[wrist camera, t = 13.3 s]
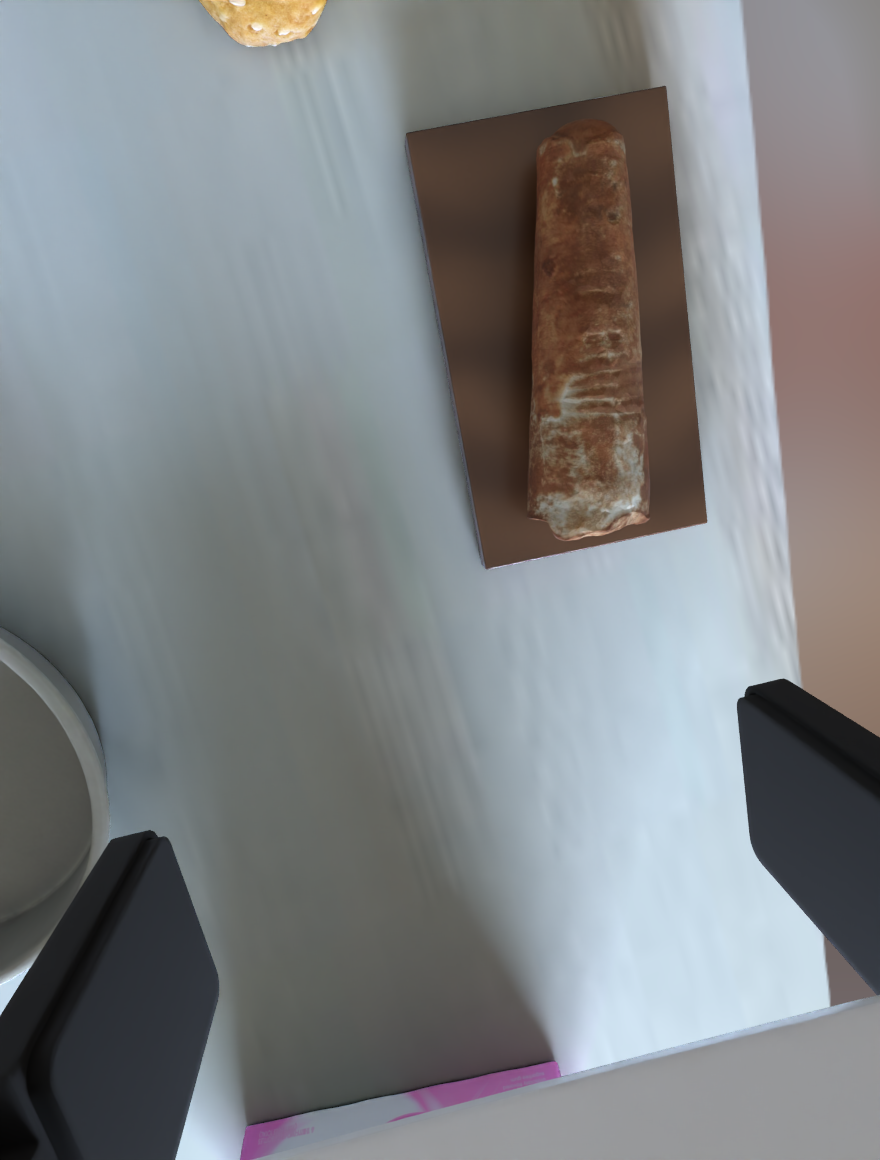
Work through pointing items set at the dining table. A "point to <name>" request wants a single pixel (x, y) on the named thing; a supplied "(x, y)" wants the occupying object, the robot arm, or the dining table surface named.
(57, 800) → the cake pan
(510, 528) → the bread board
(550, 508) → the bread
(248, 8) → the bagel
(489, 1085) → the gum box
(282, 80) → the dining table surface
